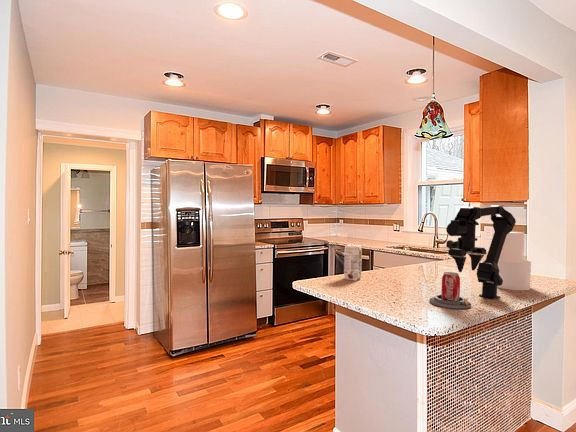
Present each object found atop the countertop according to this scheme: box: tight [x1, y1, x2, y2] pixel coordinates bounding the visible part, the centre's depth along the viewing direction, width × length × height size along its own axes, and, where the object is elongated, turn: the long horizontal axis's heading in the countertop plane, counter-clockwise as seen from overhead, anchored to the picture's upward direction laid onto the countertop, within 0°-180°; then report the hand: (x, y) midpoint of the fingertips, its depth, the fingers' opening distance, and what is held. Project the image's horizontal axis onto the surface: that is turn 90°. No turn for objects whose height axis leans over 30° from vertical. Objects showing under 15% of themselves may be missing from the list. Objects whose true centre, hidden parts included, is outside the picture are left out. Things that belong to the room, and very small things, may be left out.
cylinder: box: [492, 231, 532, 291], centre depth 185 cm, size 17×17×28 cm
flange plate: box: [428, 293, 472, 310], centre depth 150 cm, size 16×16×4 cm
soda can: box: [440, 271, 461, 301], centre depth 150 cm, size 7×7×12 cm
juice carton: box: [343, 243, 363, 282], centre depth 197 cm, size 8×9×19 cm
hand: (466, 271), depth 156 cm, fingers open, 9 cm apart
